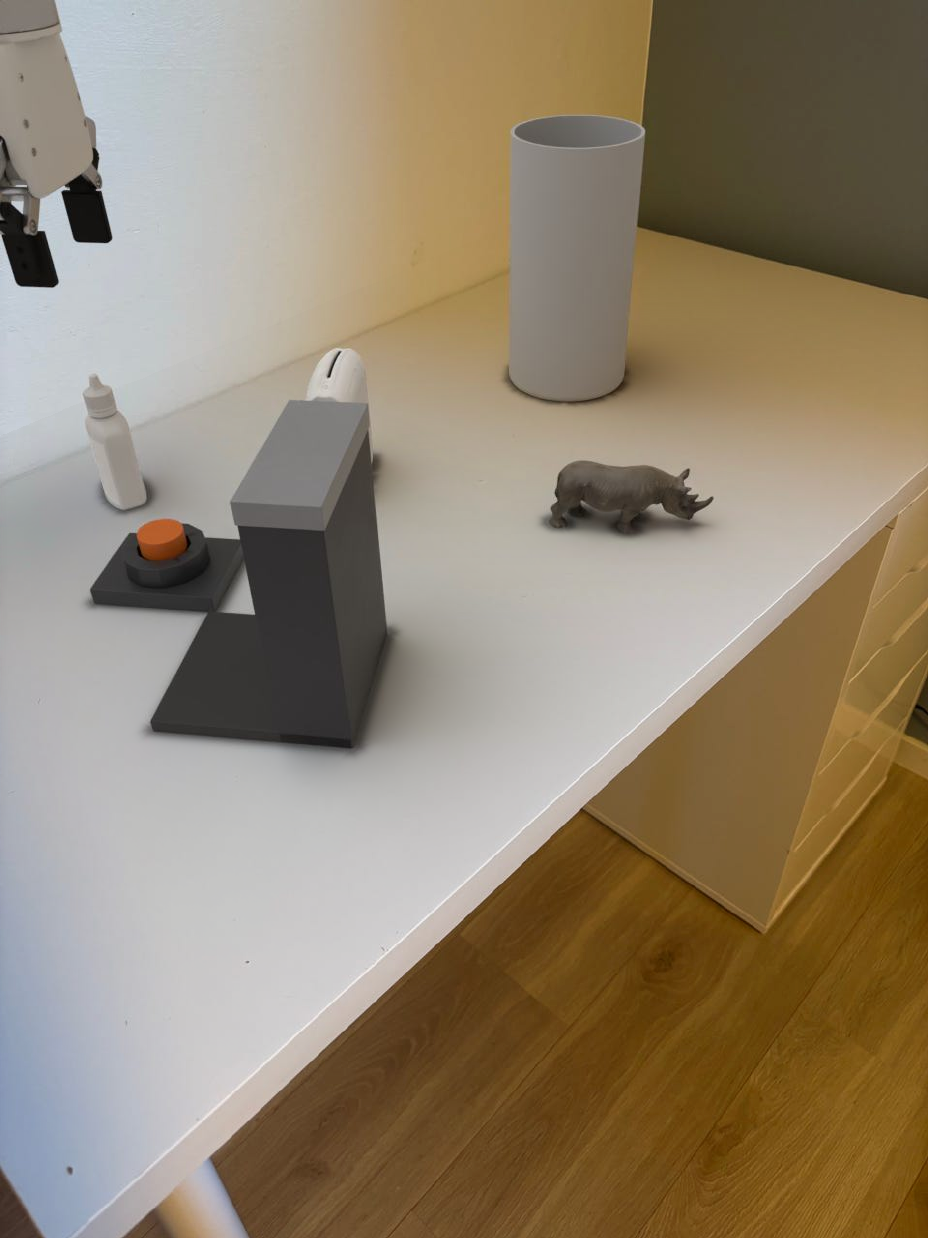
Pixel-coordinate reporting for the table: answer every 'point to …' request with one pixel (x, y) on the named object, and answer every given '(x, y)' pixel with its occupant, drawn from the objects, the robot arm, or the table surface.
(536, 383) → the cylinder vase
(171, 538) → the button
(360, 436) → the coffee maker
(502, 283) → the table surface
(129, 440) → the eye dropper bottle
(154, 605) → the control pad
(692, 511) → the rhino figurine
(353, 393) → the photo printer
